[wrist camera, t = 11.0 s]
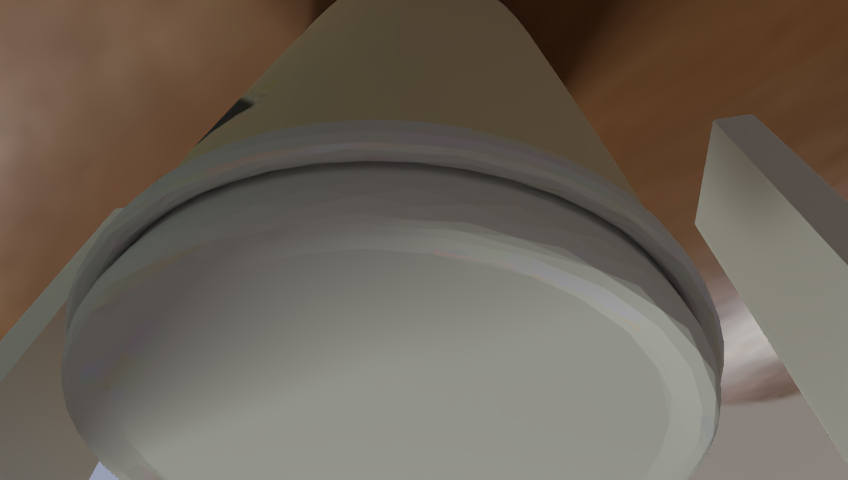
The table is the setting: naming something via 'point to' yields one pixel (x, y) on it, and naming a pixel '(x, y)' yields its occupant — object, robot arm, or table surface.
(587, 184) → the coffee cup
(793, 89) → the table surface
